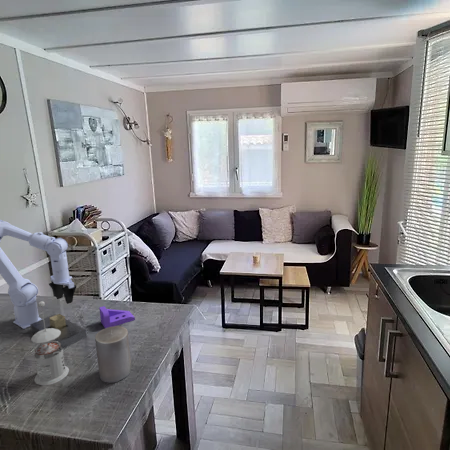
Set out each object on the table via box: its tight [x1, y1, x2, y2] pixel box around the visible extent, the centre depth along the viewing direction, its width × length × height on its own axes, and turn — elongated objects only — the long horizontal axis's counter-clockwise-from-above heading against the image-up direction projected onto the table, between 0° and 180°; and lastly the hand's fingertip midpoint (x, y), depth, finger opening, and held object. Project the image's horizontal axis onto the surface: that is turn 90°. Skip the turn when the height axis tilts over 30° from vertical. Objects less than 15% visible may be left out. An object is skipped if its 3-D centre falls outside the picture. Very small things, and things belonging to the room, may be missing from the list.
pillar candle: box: [94, 325, 132, 384], centre depth 104 cm, size 10×10×15 cm
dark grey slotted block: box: [30, 313, 87, 350], centre depth 129 cm, size 22×10×3 cm, turn 54°
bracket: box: [98, 305, 136, 329], centre depth 138 cm, size 12×7×7 cm, turn 124°
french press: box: [30, 300, 70, 386], centre depth 104 cm, size 10×12×25 cm
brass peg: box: [49, 313, 66, 330], centre depth 129 cm, size 4×4×7 cm
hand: (64, 300), depth 137 cm, fingers open, 7 cm apart
